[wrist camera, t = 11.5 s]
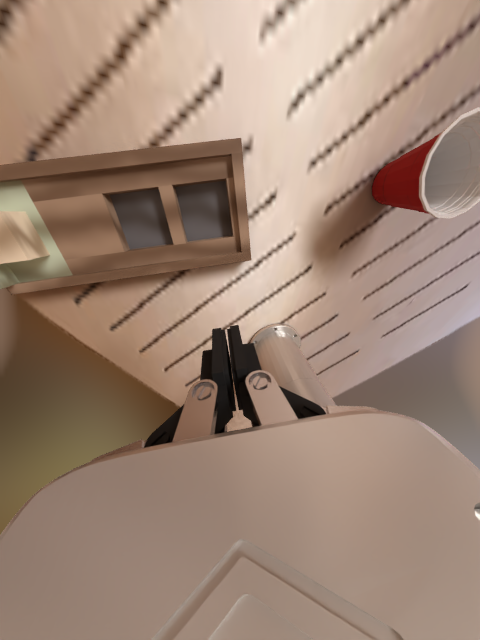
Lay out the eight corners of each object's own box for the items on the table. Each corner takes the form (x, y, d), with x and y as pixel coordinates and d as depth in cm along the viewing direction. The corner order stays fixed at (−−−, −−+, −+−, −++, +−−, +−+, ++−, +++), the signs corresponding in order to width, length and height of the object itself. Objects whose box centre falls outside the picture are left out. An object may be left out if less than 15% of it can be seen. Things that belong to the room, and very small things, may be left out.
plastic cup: (432, 152, 32) (539, 122, 21) (395, 223, 37) (467, 227, 26) (379, 131, 30) (468, 85, 19) (346, 209, 35) (404, 207, 24)
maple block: (50, 254, 30) (28, 260, 27) (10, 260, 30) (-17, 266, 27) (25, 211, 27) (-3, 211, 24) (-19, 216, 27) (-54, 217, 24)
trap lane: (248, 256, 36) (253, 263, 31) (29, 287, 35) (-4, 300, 29) (238, 146, 29) (243, 130, 23) (-46, 178, 27) (-109, 169, 21)
